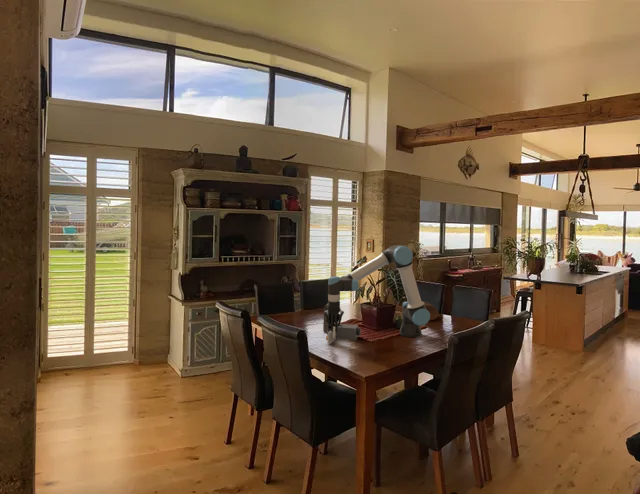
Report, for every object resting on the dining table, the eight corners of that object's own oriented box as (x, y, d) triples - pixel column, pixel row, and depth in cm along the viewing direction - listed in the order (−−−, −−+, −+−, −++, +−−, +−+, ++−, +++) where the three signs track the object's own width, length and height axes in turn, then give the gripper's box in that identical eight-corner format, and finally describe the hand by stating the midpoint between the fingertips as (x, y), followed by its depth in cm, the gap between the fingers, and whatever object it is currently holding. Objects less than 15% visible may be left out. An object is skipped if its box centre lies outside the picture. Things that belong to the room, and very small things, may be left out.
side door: (328, 344, 271) (329, 332, 270) (326, 343, 272) (326, 332, 271) (336, 338, 284) (336, 327, 283) (333, 338, 284) (333, 327, 284)
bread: (441, 321, 335) (442, 305, 334) (407, 321, 335) (407, 304, 334) (433, 314, 360) (434, 298, 360) (401, 313, 361) (402, 298, 360)
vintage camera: (344, 334, 296) (345, 306, 294) (322, 332, 299) (324, 304, 298) (346, 331, 305) (347, 304, 304) (325, 329, 308) (326, 302, 307)
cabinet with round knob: (360, 337, 289) (361, 324, 288) (358, 340, 280) (358, 327, 279) (337, 335, 293) (337, 322, 292) (334, 338, 284) (335, 325, 284)
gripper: (343, 299, 276) (343, 335, 278) (324, 299, 276) (324, 335, 278) (344, 301, 269) (344, 338, 271) (324, 301, 269) (324, 338, 271)
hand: (334, 336), depth 274 cm, fingers closed
